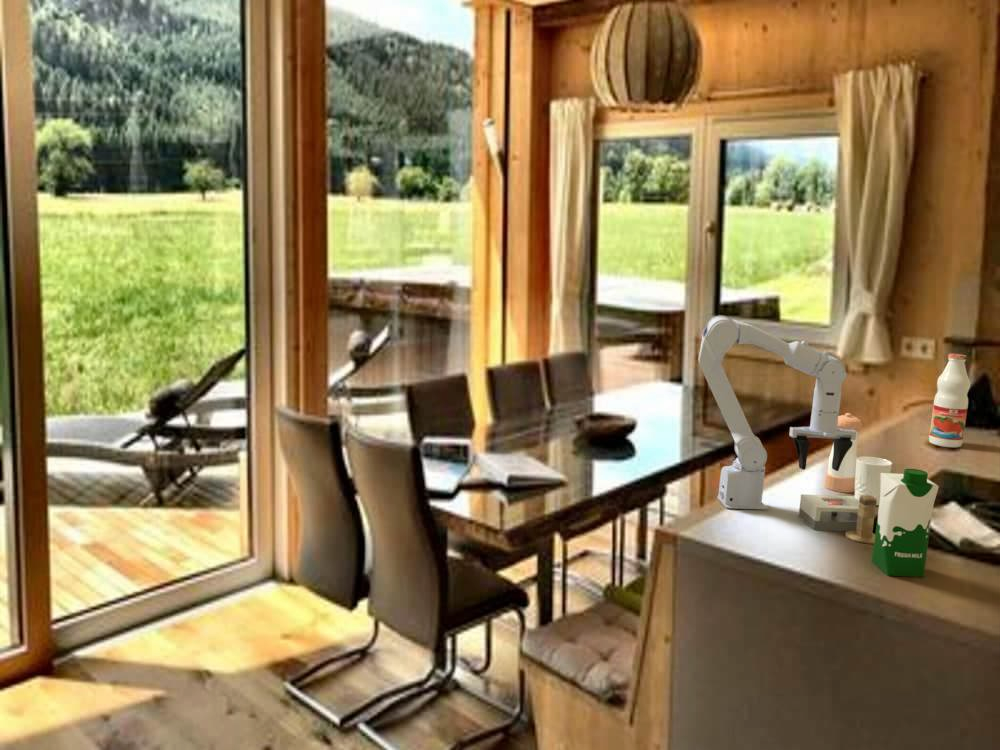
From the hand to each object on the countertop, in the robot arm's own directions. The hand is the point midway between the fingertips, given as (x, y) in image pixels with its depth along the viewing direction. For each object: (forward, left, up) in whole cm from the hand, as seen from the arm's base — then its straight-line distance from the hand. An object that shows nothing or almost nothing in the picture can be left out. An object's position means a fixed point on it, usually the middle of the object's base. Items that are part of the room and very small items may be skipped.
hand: (818, 469), depth 205 cm
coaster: (+4, -17, -10) cm, 20 cm away
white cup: (+17, +9, -10) cm, 22 cm away
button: (+1, -8, -8) cm, 12 cm away
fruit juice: (+69, +71, -10) cm, 100 cm away
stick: (+4, -17, -10) cm, 20 cm away
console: (+1, -9, -10) cm, 13 cm away
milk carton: (+3, -34, -10) cm, 36 cm away
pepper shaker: (+14, +19, -10) cm, 26 cm away
